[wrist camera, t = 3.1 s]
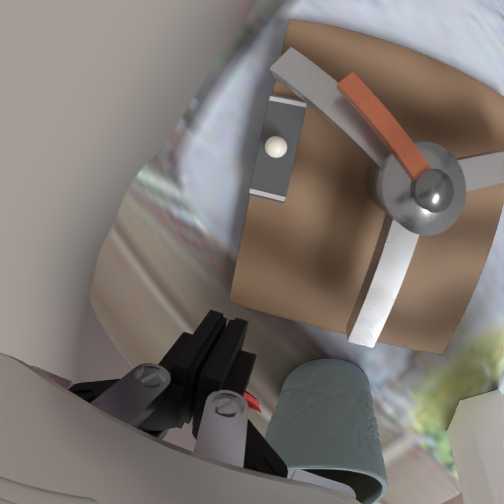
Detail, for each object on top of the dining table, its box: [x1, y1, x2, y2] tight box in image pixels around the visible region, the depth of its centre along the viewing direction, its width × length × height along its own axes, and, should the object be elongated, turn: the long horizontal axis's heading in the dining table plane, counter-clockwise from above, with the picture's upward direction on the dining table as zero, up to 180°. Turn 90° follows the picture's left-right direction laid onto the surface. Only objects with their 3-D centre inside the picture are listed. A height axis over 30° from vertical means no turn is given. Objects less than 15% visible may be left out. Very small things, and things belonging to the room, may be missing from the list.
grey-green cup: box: [265, 358, 388, 504], centre depth 20 cm, size 10×10×12 cm
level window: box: [249, 94, 307, 204], centre depth 18 cm, size 7×2×1 cm, turn 167°
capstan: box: [269, 47, 504, 348], centre depth 15 cm, size 16×18×6 cm
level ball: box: [265, 136, 287, 158], centre depth 17 cm, size 1×1×1 cm
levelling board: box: [229, 19, 504, 355], centre depth 18 cm, size 22×19×2 cm
